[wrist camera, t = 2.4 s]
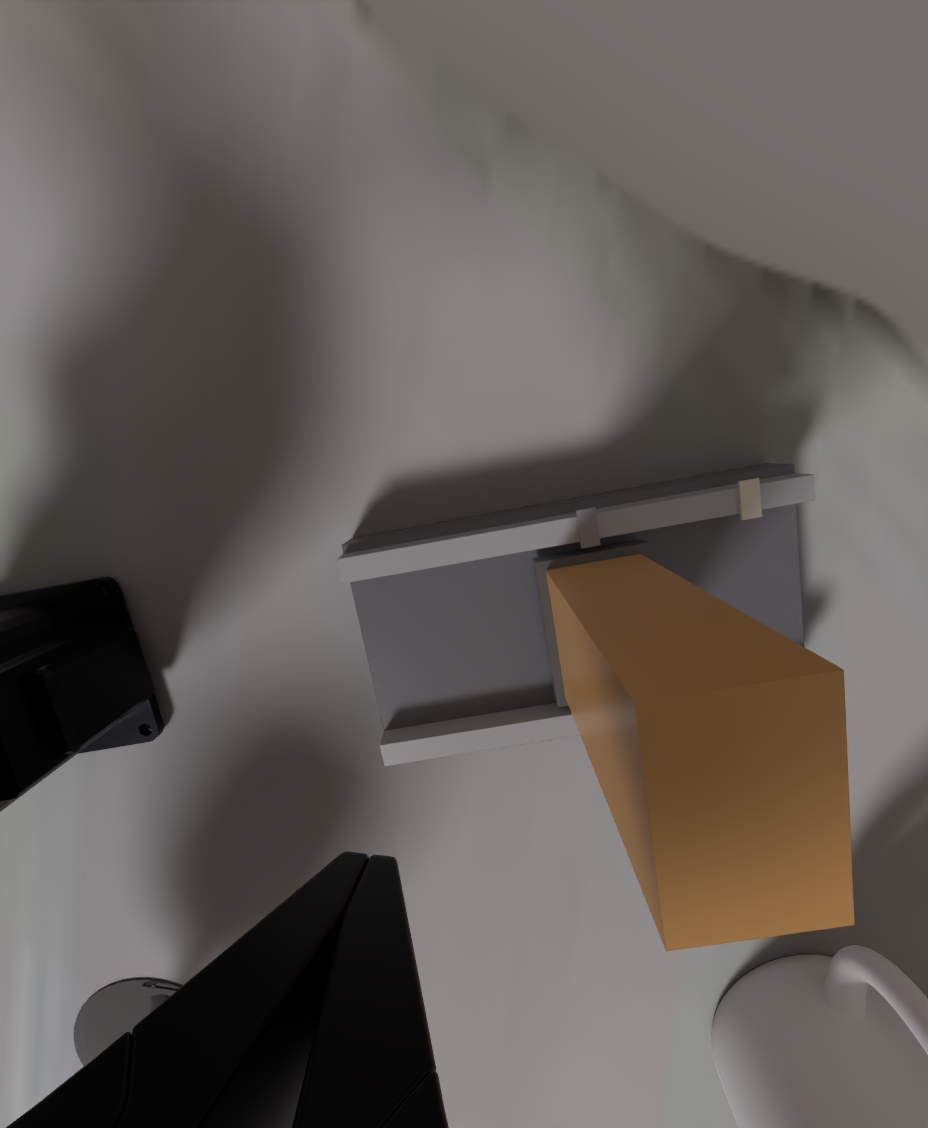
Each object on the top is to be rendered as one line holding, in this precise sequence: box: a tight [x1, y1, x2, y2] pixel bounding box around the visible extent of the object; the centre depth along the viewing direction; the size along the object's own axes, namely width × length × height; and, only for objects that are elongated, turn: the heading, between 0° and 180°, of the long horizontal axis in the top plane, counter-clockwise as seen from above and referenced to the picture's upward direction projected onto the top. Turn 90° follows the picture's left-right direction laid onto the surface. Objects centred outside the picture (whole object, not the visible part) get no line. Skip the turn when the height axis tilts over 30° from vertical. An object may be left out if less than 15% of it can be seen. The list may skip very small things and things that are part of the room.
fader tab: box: [532, 539, 854, 951], centre depth 13 cm, size 4×5×10 cm
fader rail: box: [336, 463, 815, 766], centre depth 18 cm, size 15×8×3 cm, turn 100°
